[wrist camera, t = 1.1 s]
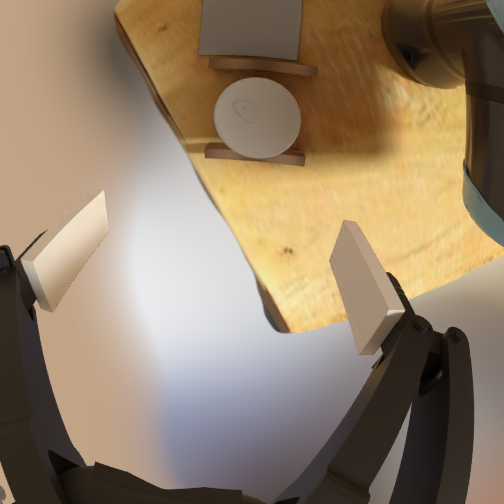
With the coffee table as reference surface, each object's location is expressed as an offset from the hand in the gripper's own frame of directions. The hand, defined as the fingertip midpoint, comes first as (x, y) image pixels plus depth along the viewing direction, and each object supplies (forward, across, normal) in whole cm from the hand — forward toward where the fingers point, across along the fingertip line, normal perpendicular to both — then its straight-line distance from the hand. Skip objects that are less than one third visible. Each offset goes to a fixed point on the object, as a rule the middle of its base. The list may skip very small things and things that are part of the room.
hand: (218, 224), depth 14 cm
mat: (+23, -1, +17) cm, 29 cm away
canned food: (+23, +2, +4) cm, 24 cm away
